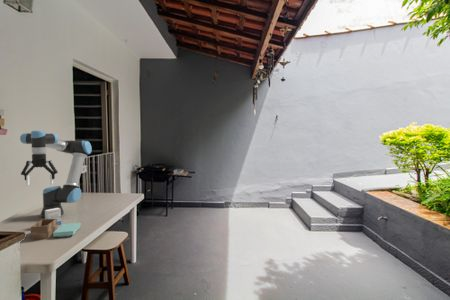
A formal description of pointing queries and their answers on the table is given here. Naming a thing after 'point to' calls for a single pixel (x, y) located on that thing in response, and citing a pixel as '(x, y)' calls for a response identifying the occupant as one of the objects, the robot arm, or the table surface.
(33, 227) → the crate
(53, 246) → the table surface
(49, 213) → the ink box
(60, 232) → the lid
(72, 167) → the robot arm
